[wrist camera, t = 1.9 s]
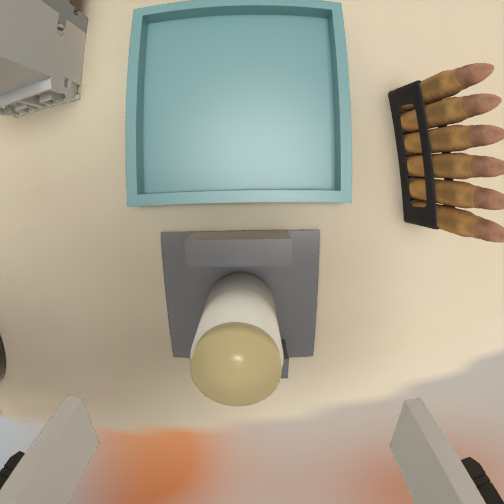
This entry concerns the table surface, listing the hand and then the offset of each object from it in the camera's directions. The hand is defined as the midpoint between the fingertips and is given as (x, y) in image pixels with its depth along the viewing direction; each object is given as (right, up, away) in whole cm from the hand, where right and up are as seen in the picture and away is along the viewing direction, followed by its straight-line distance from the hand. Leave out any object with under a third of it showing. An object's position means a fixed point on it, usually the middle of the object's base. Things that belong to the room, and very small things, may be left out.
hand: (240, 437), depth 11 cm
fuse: (0, +3, +14) cm, 15 cm away
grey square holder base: (0, +4, +14) cm, 15 cm away
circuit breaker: (-18, +27, +9) cm, 33 cm away
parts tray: (-1, +19, +11) cm, 22 cm away
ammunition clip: (+13, +15, +12) cm, 23 cm away
